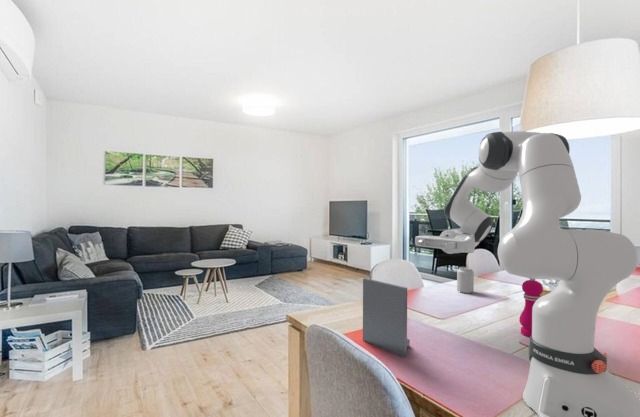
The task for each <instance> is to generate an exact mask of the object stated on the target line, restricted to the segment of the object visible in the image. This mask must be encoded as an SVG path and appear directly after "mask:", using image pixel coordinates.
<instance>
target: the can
mask: <svg viewBox="0 0 640 417" xmlns="http://www.w3.org/2000/svg"><path fill="white" fill-rule="evenodd" d="M456 272H457V273H456V290H457V291H458V292H459V291H460V292H459V293H461V292H463V293H462V294H472V293H473V292H474V288H475V286H474V278H475V277H474V276H475V272H474V270H473V268H472V267H469V266H459V267H458V269H457V270H456Z"/></svg>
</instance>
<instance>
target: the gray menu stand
mask: <svg viewBox="0 0 640 417" xmlns="http://www.w3.org/2000/svg"><path fill="white" fill-rule="evenodd" d="M362 341H364V342H365V343H369V344H371V345H373V346H375V347H378V348H380V349H383V350H384V351H386V352H387V351H388V352H389V353H393V354H394V355H396V356H398V357H402V358H406V357H407V356H408V353H407V352H408V348H409V347H410V346H411V345H410V344H411V343H410V341H411V340H410V339H409V338H408V287H405V286H401V285H397V284H392V283H388V282H383V281H379V280H375V279H371V278H367V277H365V278H363V279H362Z"/></svg>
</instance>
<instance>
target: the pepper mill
mask: <svg viewBox="0 0 640 417" xmlns="http://www.w3.org/2000/svg"><path fill="white" fill-rule="evenodd" d="M521 288H522V292H524V293H523V299H524V302H525V303H524V308H523V310H522V312H521V313H520V316H519V320H518V322H519V323H520V325H521V327H520V335H522V336H525V337H526V338H527V337H528V338H530V336H532V308H533V305H534V303H535V302H536V300H537V299H538V298H540V297H542V296H541V295H542V294H543V292H544V286H543V285H542V284H541V283H540V281H538V280H536V279H531V278H528V280H525V281H524V282H523V283H522V285H521Z"/></svg>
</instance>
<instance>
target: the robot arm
mask: <svg viewBox="0 0 640 417" xmlns="http://www.w3.org/2000/svg"><path fill="white" fill-rule="evenodd" d="M570 150H571V148H570V144H569V142H568V139H567V138H566V137H565V136H563V135H561V134H558V133H553V132H534V131H525V130H522V131H521V130H520V131H519V130H518V131H504V132H503V131H493V132H491V133H487V134H486V135H485V136H484V137H482V139H481V141H480V144H479V147H478V160H479V163H480V165H478V167H477V166H475V167H471V168H470V170H468V171H467V173H465V174H464V176H463V177H462V179H461V181H460V182H459V183H458V186H457V187H456V188H455V189H454V192H453V193H452V195H451V197H450V198H449V199H448V201H447V202H446V203H445V205H444V207H443V212H444V217H446V218H447V219H449V220H450V221H452V222H453V223H455V224H456V225H457V226H459V227H460V228H455V229H453V228H452V229H445V230H443V231H442V232H441V233H440V235H429V234H428V235H417V236H415V238H414V241H415V242H414V243H415V246H416V247H425V248H432V249H440V250H442V251H443V253H446V254H449V255H452V254H461V253H466V254H473V253H475V248H476V247H477V246H478V245H479V244H480V243H481V242H482V241H484V240H485V239H486V238H487V237H488V236H489V235H490V233H491V232H492V230H493V218H492V216H490V215H489V214H487V213H486V212H485V211H483V210H482V209H481V208H479V207H478V206H476V205H475V204H474V203H473V202H471V201H470V200H469V198H468V197H469V195H470V193H471V191H473V189H475V190H480V191H483V192H485V193H500V192H503V191H505V190H506V189H508V188H510V187H511V185H512V184H513V182H514V181H515V179H516V177H517V175H518V177H519V184H520V188H521V197H522V198H521V199H522V212H521V216H520V218H519V220H518V222H517V223H516V225H515V226H514V227H513V228H512V229H510V230H509V231H508V232H506V233H505V234H504V235H503V236H502V238H500V240H499V243H498V245H497V246H498V247H497V258H498V261H499V263H500V265H501V267H502V268H503V269H504V270H505V272H506V273H508V274H509V275H513V276H518V277H522V278H525V279H526V278H527V279H529V278H531V279H535V280H551V281H552V280H554V281H555V280H556V281H559V282H558V284H557V285H556V287H555V288H554V289H553V290H551V292H548V293H547V294H544V295H542V296H541V297H540V298H538V299H537V300H536V302H535V303H534V305H533V308H532V336H530V337H529V341H528V357H529V362H530V363H529V364H530V365H529V370H528V375H527V380H526V384H525V387H524V389H523V393H522V395H523V396H522V400H523V399H524V400H523V401H524V403H525V402H526V403H525V405H527V406H528V408H530V407H531V408H532V409H533V410H532V409H531V408H530V409H531V410H532V411H534V410H535V411H534V412H535V414H536V415H537V416H538V415H539V416H538V417H640V399H639V398H638V396H637V395H636V393H635V392H633V391H632V390H631V389H629V388H628V387H627V386H626V385H624V383H622V382H621V381H620V380H619V379H617V378H616V377H615V376H614V375H613V374H612V373H611V372H609V371H608V370H607V367H608V360H607V359H608V358H607V356H608V355H607V352H604V353H601V352H600V351H599V350H597V348H596V347H595V337H596V336H595V334H596V325H597V324H596V323H597V318H598V317H597V316H598V312H599V309H600V306H601V305H602V303H603V301H604V299H605V298H606V297H607V295H608V294H609V292H610V291H611V290H612V289H613V288H615V286H617V285H618V284H619V283H621V281H624V280H625V279H627V278H629V277H630V276H632V275H633V274H634V273H635V270H636V269H637V267H638V264H639V255H638V250H637V248H636V246H635V244H634V243H633V241H631V239H629V238H628V237H627V236H626V235H623V234H620V233H615V232H611V231H606V230H599V229H571V228H570V229H568V228H566V229H564V228H561V226H560V219H561V218H565V217H566V216H567V215H568V216H569V215H570V214H571V213H573V212H574V211H575V210H577V208H578V207H579V206H580V203H581V202H582V195H581V190H580V187H579V184H578V179H577V175H576V170H575V166H574V164H573V160H572V158H571V156H570Z"/></svg>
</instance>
